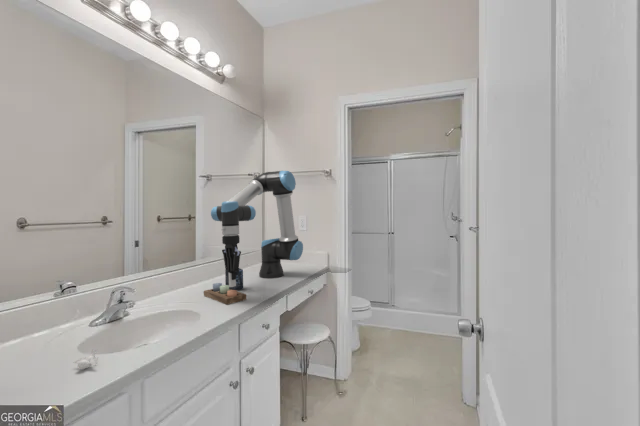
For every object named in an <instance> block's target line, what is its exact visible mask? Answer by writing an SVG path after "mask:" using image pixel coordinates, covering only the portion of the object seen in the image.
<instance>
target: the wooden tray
mask: <svg viewBox="0 0 640 426" xmlns="http://www.w3.org/2000/svg"><path fill="white" fill-rule="evenodd" d="M229 290H231V289H229ZM203 296H204V297H206V298H209V299H210V300H214V301H216V302H218V303H221V304H224V305H230V304H235V303H238V302H243V301H247V293H244V292H241V291H239V290H237V296H233V297H228V296H227V294H220V291H217V292H214V291H213V288H210V289H205V290H203Z"/></svg>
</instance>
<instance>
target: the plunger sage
mask: <svg viewBox="0 0 640 426" xmlns="http://www.w3.org/2000/svg"><path fill="white" fill-rule="evenodd" d="M227 291H229V285H226V284H222V286H220V294H227Z"/></svg>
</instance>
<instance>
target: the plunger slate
mask: <svg viewBox="0 0 640 426" xmlns="http://www.w3.org/2000/svg"><path fill="white" fill-rule="evenodd" d="M222 285H223V283H221V282H216V283H212V289H213V291H214V292H217V291H220V286H222Z"/></svg>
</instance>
